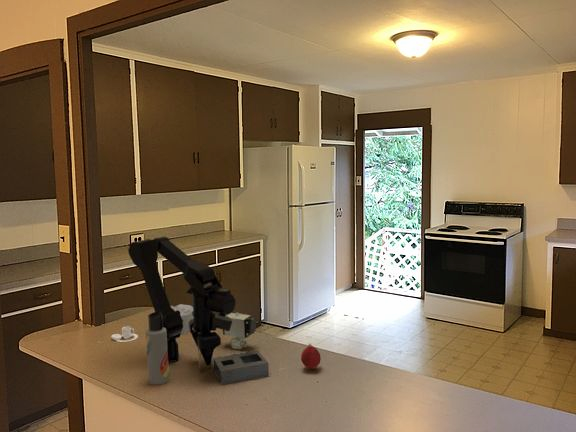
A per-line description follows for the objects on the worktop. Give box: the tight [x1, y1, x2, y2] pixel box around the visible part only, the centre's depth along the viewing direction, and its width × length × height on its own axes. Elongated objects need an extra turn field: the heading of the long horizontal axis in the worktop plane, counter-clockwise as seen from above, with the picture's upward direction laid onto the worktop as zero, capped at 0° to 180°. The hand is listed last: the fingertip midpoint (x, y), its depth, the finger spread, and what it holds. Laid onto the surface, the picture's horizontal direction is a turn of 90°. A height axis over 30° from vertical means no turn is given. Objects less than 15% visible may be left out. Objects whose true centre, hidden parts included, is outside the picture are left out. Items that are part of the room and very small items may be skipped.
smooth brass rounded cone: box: [197, 347, 213, 373], centre depth 148 cm, size 4×4×9 cm
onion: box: [300, 343, 322, 371], centre depth 146 cm, size 6×6×8 cm
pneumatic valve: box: [220, 312, 257, 350], centre depth 165 cm, size 6×12×12 cm, turn 66°
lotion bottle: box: [145, 311, 170, 386], centre depth 141 cm, size 6×6×20 cm
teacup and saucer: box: [110, 325, 139, 343], centre depth 177 cm, size 9×8×4 cm
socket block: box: [212, 350, 270, 386], centre depth 145 cm, size 14×10×4 cm
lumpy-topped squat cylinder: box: [170, 303, 194, 335], centre depth 184 cm, size 10×13×9 cm
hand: (205, 359), depth 148 cm, fingers open, 9 cm apart
